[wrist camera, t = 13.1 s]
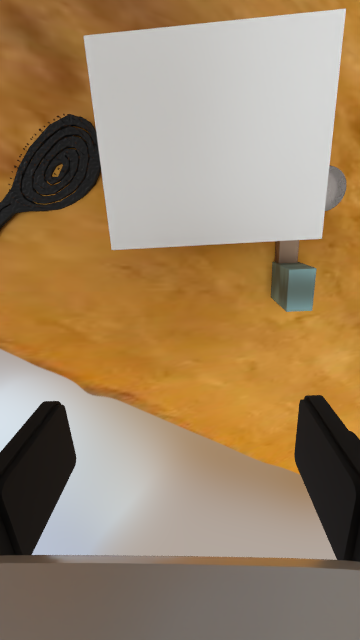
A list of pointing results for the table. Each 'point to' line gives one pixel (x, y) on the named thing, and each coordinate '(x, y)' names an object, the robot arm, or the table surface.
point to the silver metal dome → (335, 187)
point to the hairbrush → (73, 161)
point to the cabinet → (216, 129)
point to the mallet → (292, 278)
